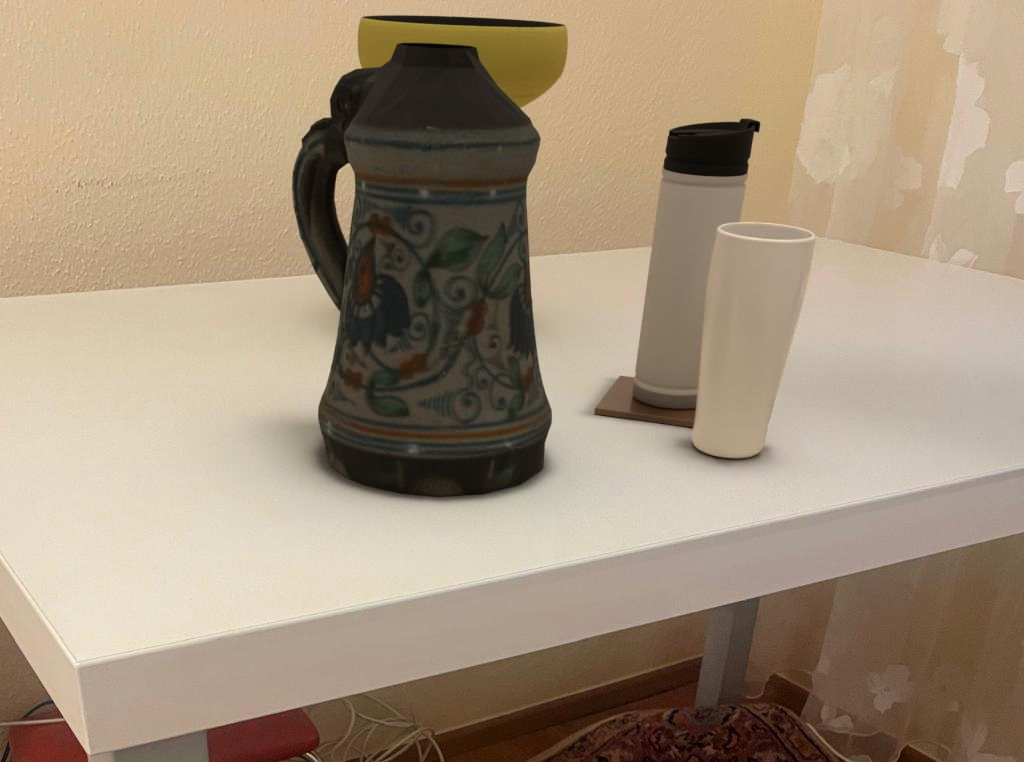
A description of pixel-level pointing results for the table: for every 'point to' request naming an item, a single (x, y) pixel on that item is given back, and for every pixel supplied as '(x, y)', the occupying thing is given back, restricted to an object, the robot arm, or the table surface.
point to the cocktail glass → (500, 45)
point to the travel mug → (687, 254)
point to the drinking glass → (748, 332)
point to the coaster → (639, 406)
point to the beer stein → (427, 276)
